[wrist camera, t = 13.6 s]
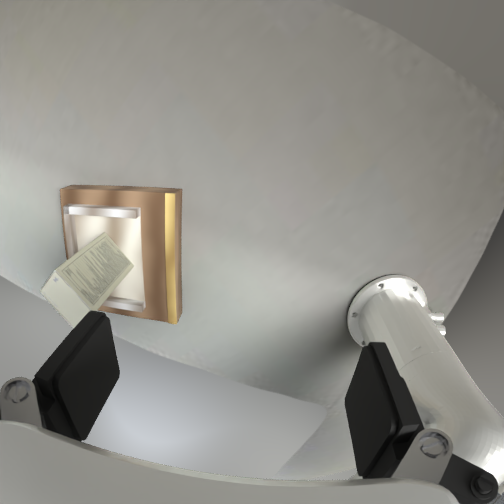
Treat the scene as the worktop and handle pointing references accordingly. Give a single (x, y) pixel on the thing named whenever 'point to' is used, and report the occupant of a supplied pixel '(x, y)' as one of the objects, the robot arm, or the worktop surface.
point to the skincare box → (86, 279)
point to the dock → (132, 243)
